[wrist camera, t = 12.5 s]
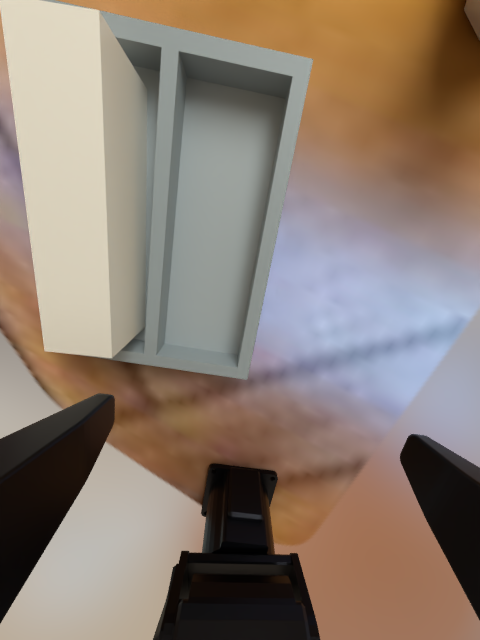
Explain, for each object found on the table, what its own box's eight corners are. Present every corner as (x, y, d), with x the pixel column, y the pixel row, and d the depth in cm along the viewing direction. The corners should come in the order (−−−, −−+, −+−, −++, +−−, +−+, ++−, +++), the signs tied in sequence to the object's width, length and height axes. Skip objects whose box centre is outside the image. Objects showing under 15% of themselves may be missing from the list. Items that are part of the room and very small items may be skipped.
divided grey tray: (245, 359, 20) (247, 379, 17) (75, 333, 19) (46, 350, 16) (298, 94, 15) (313, 59, 12) (64, 43, 14) (19, -8, 11)
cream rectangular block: (145, 326, 18) (111, 358, 13) (96, 321, 18) (44, 351, 13) (147, 89, 14) (99, 10, 9) (82, 79, 14) (-2, -7, 9)
